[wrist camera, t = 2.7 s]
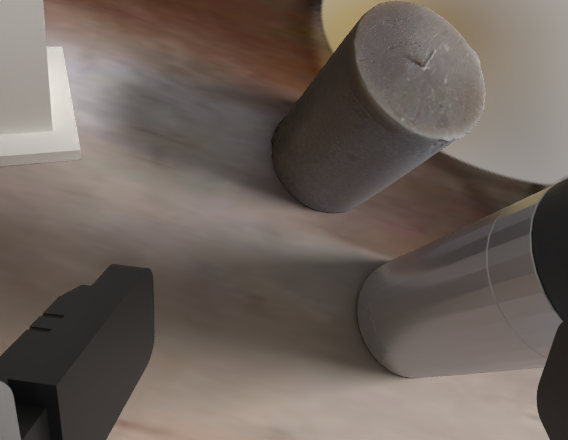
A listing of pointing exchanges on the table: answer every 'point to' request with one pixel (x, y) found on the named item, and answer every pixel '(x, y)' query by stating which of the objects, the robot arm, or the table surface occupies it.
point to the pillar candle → (379, 108)
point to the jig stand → (33, 90)
